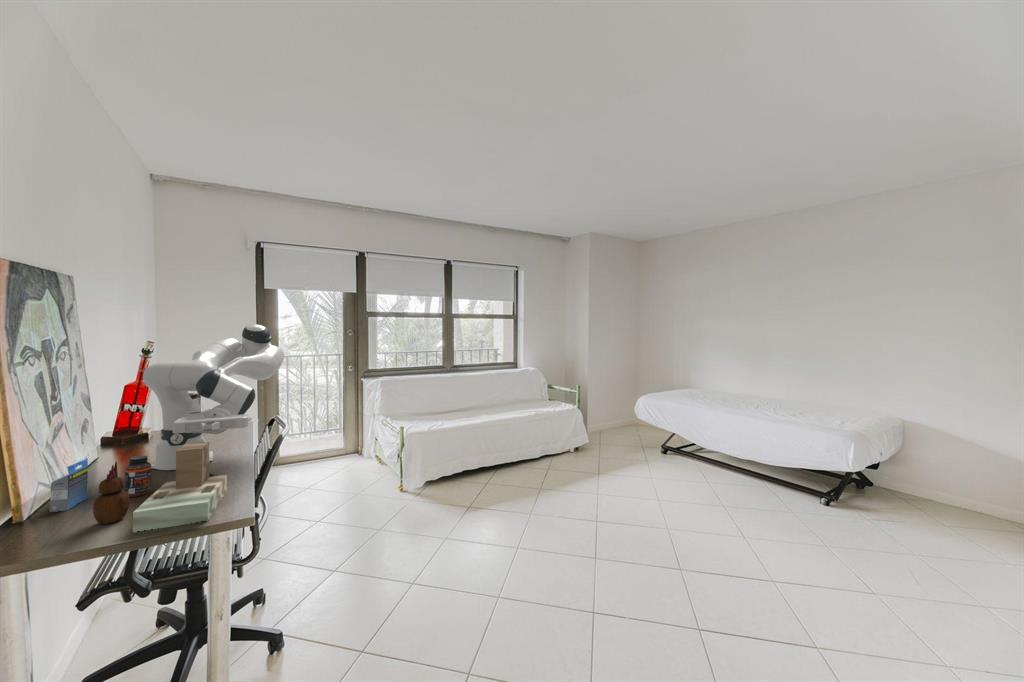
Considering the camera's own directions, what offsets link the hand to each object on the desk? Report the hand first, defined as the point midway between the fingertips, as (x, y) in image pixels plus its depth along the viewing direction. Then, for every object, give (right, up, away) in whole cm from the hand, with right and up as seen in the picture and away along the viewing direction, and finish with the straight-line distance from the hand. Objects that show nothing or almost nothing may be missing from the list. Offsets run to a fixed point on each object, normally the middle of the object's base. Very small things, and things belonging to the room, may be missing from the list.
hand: (207, 427), depth 126 cm
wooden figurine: (-8, -20, -22) cm, 31 cm away
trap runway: (+5, -20, -14) cm, 25 cm away
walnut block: (+2, -15, -8) cm, 17 cm away
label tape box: (-30, -20, -12) cm, 38 cm away
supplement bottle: (-19, -20, -4) cm, 27 cm away
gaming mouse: (-3, -20, +3) cm, 21 cm away
